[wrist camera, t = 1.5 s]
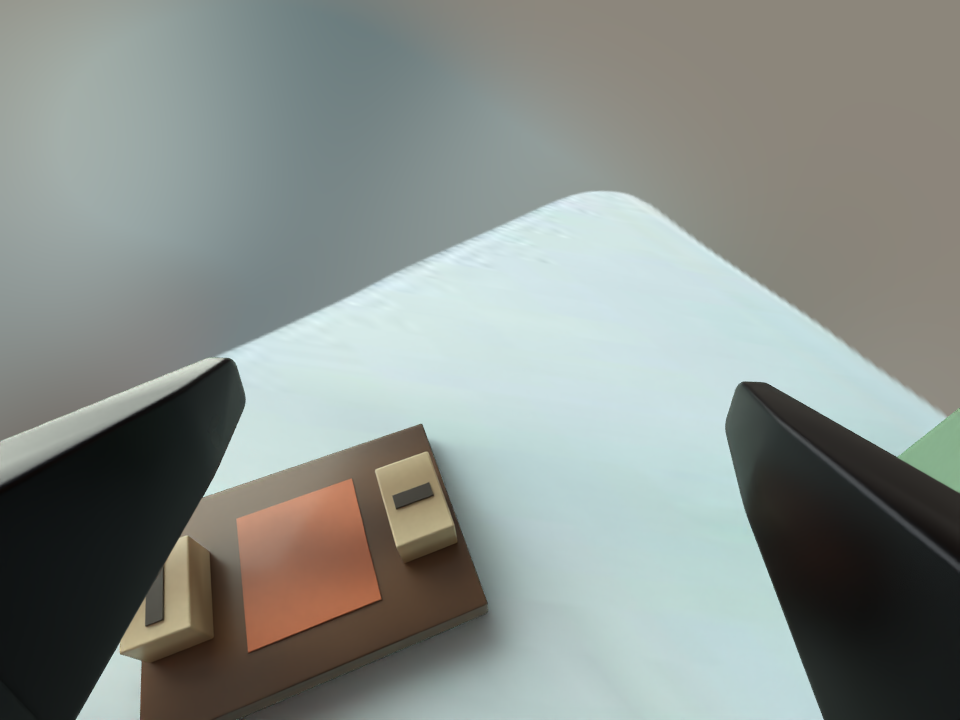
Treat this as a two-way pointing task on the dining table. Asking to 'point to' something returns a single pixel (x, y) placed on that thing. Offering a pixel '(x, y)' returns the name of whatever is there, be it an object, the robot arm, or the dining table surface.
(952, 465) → the green tall block
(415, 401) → the dining table surface
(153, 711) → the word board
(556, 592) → the dining table surface
